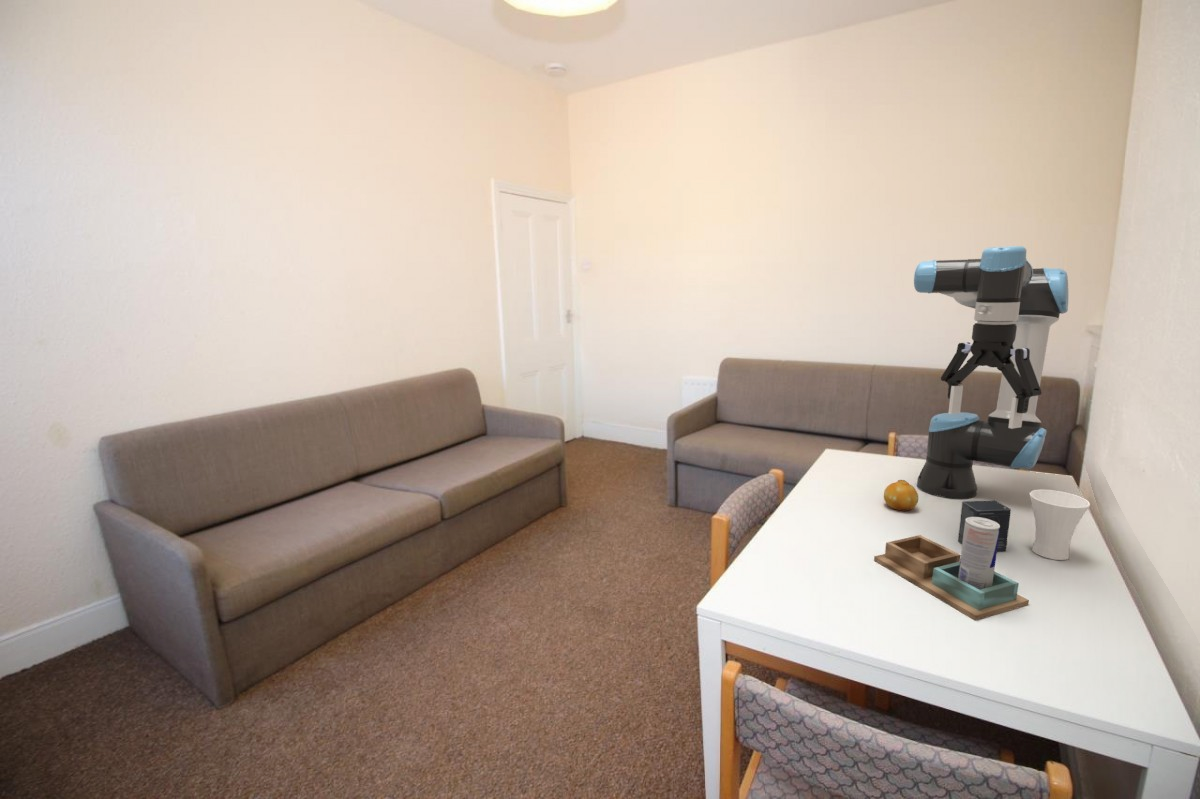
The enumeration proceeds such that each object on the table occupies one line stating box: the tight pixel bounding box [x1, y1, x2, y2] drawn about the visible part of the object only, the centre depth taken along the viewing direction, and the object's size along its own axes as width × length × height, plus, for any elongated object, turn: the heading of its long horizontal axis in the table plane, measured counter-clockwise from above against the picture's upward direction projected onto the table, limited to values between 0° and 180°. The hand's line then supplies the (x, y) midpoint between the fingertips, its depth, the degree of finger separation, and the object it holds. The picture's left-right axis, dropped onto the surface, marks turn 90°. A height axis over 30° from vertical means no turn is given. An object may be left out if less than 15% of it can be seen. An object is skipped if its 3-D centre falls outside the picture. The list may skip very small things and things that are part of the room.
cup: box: [1028, 489, 1091, 561], centre depth 123 cm, size 10×10×14 cm
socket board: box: [873, 534, 1030, 621], centre depth 114 cm, size 24×14×4 cm, turn 19°
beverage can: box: [958, 517, 1000, 590], centre depth 107 cm, size 6×6×15 cm
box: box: [957, 499, 1012, 552], centre depth 127 cm, size 8×6×11 cm
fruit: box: [883, 479, 919, 512], centre depth 150 cm, size 8×8×8 cm
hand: (982, 420), depth 119 cm, fingers open, 13 cm apart
